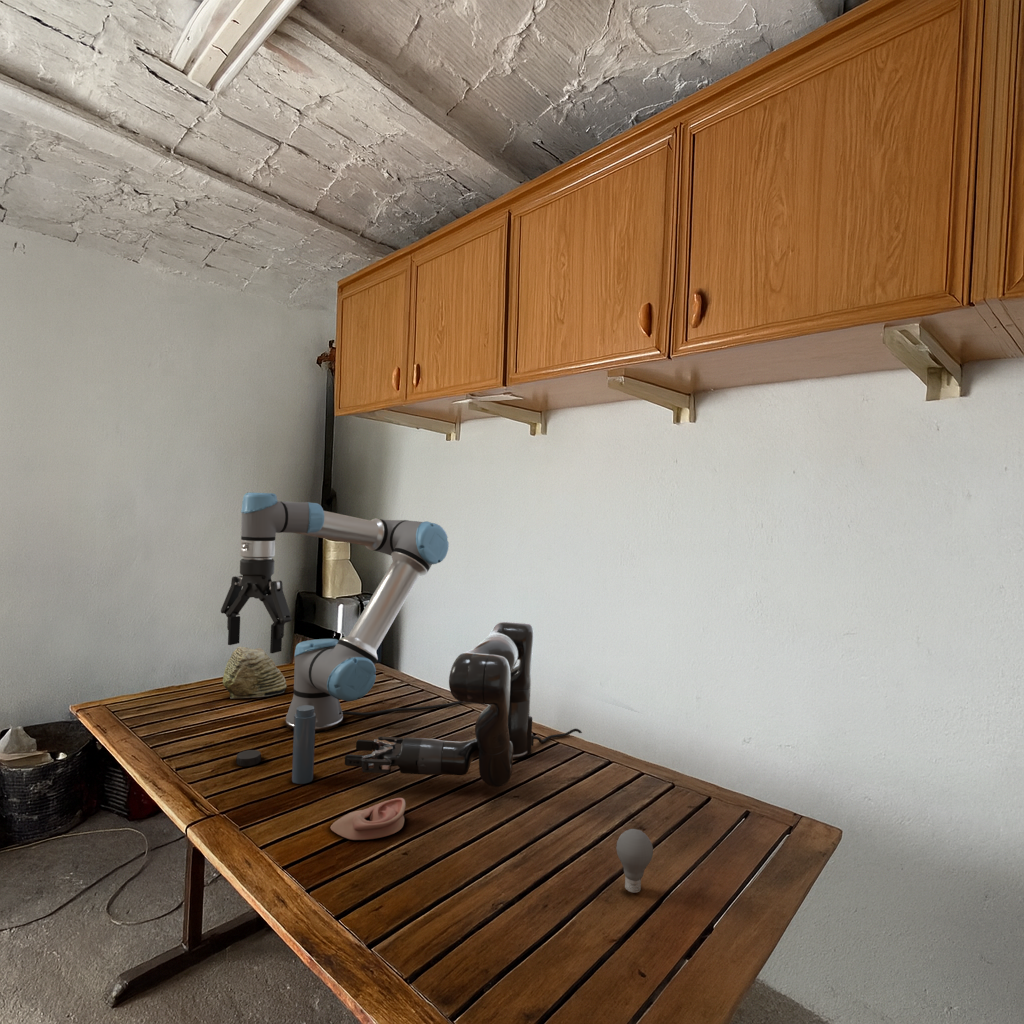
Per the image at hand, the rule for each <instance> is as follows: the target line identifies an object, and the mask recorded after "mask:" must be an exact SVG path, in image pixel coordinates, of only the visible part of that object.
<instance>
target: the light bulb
mask: <svg viewBox="0 0 1024 1024" xmlns="http://www.w3.org/2000/svg"><path fill="white" fill-rule="evenodd" d="M615 849H616V854H617V857H618V859H619V861H620V863H621V865H622V867H623V873H624V874H623V875H624V876H625V878H624V888H625V890H627V891H628V892H630V893H634V894H635V893H639V892H640V891H641V889H642V887H641V886H642V879H643V877H644V875H645V871H646V868H647V867H648V866H649V864H650V863H651V861H652V859H653V855H654V847H653V843H652V841H651V838H649V836H648V835H647V834H646V833H645V832H643V831H642V830H641V829H636V828H629V829H627V830H625V831H623V832H622V833H621V834H620V835H619V837H618V839H617V841H616V847H615Z"/></svg>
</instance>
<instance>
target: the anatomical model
mask: <svg viewBox="0 0 1024 1024" xmlns="http://www.w3.org/2000/svg"><path fill="white" fill-rule="evenodd" d="M406 807H407V804H406V799H405V798H403V797H396V798H391V799H388V800H385V801H382V802H378V803H376V804H374V805H372V806H370V807H367V808H364V809H360V810H355V811H351V812H348V813H347V814H344V815H343V816H341V817H340V818H338V819H336V820H335V821H334V822H333V823H332V824H331V825H330V830H331V832H333V833H335V834H337V835H338V836H339V837H342V838H344V839H346V840H351V841H365V840H374V839H380V838H384V837H388V836H391V835H394V834H395V833H397V832H399V831H400V830H402V829H403V828H404V825H405V816H404V814H405V812H406V811H405V810H406Z"/></svg>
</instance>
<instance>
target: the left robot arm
mask: <svg viewBox="0 0 1024 1024" xmlns="http://www.w3.org/2000/svg"><path fill="white" fill-rule="evenodd" d="M277 496H278V495H277V494H276V493H271V492H245V494H243V497H242V502H241V503H242V504H241V511H240V513H241V532H240V533H241V534H240V535H241V537H240V557H241V559H240V560H239V574H240V575H235V576H232V577H231V580H230V587H229V589H228V592H227V594H226V596H225V599H224V601H223V603H222V606H221V608H220V613H221V614H224V615H225V616H226V617H227V622H226V628H227V631H228V632H227V645H228V646H233V645H237V644H240V639H241V637H240V636H241V616H240V612H241V611H242V609H243V608H244V607H245V605H246V604H247V603H248V601H249V600H250V598H254V599H259V601H260V602H262V604H263V605H264V607H265V609H266V611H267V613H268V615H269V616H270V618H271V620H272V622H273V623H272V624H271V625H270V645H269V654H275V653H279V652H282V649H283V648H282V647H283V639H284V636H285V634H284V633H285V624H287V623H291V622H292V619H293V618H292V615H291V612H290V609H289V606H288V603H287V598H286V596H285V593H284V587H283V581H282V580H272V577H273V575H274V574H275V559H274V557H275V556H276V535H277V534H281V533H291V534H298V535H304V536H308V537H315V538H320V539H326V540H330V541H338V542H342V543H349V544H354V545H360V546H365V548H366V549H367V550H369V551H372V552H373V551H374V552H379V553H380V554H381V553H382V554H384V555H388V556H391V560H392V561H391V564H390V565H389V567H388V569H387V570H386V572H385V574H384V576H383V577H382V579H381V581H379V583H378V586H377V587H376V589H375V590H374V592H373V594H372V596H371V597H370V599H369V601H368V602H367V604H366V606H365V607H364V609H363V611H362V612H361V614H360V615H359V617H358V619H357V620H356V622H355V624H354V625H353V627H352V628H351V630H350V632H349V634H348V635H347V636H344V637H343V636H342V637H340V638H339V639H337V638H319V639H308V640H303V641H300V642H299V643H298V642H297V644H296V646H295V650H294V655H293V657H294V672H293V695H292V696H293V697H292V699H291V702H290V704H289V708H288V711H287V713H286V715H285V726H286V728H287V729H289V730H291V731H294V715H295V714H296V708H297V707H299V706H303V705H310V706H313V707H314V709H315V710H314V713H315V714H316V722H315V733H316V732H325V731H329V730H332V729H335V728H337V727H339V726H340V725H342V723H343V722H344V716H362V717H363V716H364V717H365V716H367V717H368V716H377V715H381V714H382V715H383V714H387V713H394V712H411V711H425V710H434V709H440V708H447V707H452V706H456V705H460V704H466V703H465V702H461V701H458V700H456V701H453V702H447V703H441V704H434V705H427V706H413V707H398V708H388V709H381V710H376V711H367V712H360V711H343V709H342V706H341V702H340V700H342V701H345V702H353V701H354V702H355V701H357V700H360V699H362V698H363V697H364V696H366V695H367V694H368V693H369V692H370V691H371V689H372V688H373V687H374V685H375V682H376V680H377V675H376V672H377V668H376V664H377V662H378V660H379V658H378V654H377V650H378V649H379V647H380V645H381V644H382V642H383V640H384V639H385V637H386V635H387V633H388V631H389V630H390V628H391V626H392V624H393V623H394V621H395V619H396V617H397V616H398V614H399V612H400V611H401V610H402V607H403V605H404V604H405V602H406V600H407V598H408V597H409V595H410V593H411V591H412V590H413V588H414V587H415V584H416V583H417V581H418V579H419V578H420V577H422V576H426V575H427V574H428V572H429V570H430V569H431V567H432V565H437V564H439V563H442V562H443V561H444V560H445V558H446V556H447V554H448V552H449V547H450V546H449V544H450V543H449V541H448V538H449V537H448V534H447V532H446V531H445V529H444V528H443V527H442V526H441V525H440V524H439V523H436V522H435V523H434V522H431V521H419V520H418V521H417V520H407V519H382V518H376V517H375V518H372V519H371V520H370V519H365V518H361V517H355V516H351V515H345V514H342V513H336V512H333V511H327V510H324V508H323V507H322V505H321V504H320V503H318V502H310V501H286V500H281V501H280V500H278V497H277Z"/></svg>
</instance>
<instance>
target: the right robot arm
mask: <svg viewBox="0 0 1024 1024" xmlns="http://www.w3.org/2000/svg"><path fill="white" fill-rule="evenodd" d="M534 643H535V631H534V627H533V625H532V624H530V623H526V622H515V621H499V622H497V623H495V625H494V626H493V627H492V629H491V631H490V633H489V634H488V635H487V636H486V637H485V638H483V640H481V641H480V642H479V643H478V645H475V647H473V648H472V649H470V650H467V651H463V652H462V653H460V654H459V655H458V656H457V657H456V658H455V660H453V661H454V662H453V663H452V666H451V668H450V671H449V676H448V686H449V691H450V694H451V695H452V697H453V698H454V700H456V701H461V702H465V703H464V704H475V705H476V704H477V705H487V706H486V707H485V708H484V709H483V710H482V711H481V712H480V714H479V715H478V717H477V719H476V721H475V725H474V736H475V739H469V740H464V741H456V740H453V741H452V740H441V739H436V738H425V737H423V738H422V737H407V736H406V737H404V738H403V737H395V736H394V737H393V736H381V735H380V736H377V738H374V739H373V740H370V739H357V740H356V742H355V750H356V751H364V752H371V753H370V754H364V755H363V754H346V755H345V757H344V766H346V767H359V768H360V767H361V769H362V773H365V774H366V773H370V774H372V773H373V774H390V773H392V772H391V771H392V767H398V770H399V772H400V773H401V774H403V775H404V774H406V775H422V776H423V775H424V776H438V775H443V776H465V775H467V774H468V772H469V770H470V767H471V764H472V762H473V761H474V760H475V759H477V758H478V773H479V776H480V779H481V780H482V781H483V783H484V784H486V785H487V786H489V787H493V788H501V787H503V786H505V785H506V784H508V783H509V781H510V780H511V778H512V775H513V760H518V759H522V758H525V757H527V756H528V755H531V754H532V747H534V744H535V743H534V741H535V740H536V741H538V742H539V743H540V744H543V743H546V742H547V741H549V740H550V739H554V738H555V739H557V738H563V737H566V736H569V735H570V734H573V733H575V732H577V733H579V734H582V733H583V732H582V730H581V729H579V728H573V729H570V730H569V731H566V732H565V733H559V734H551V735H548V736H545V738H543V739H542V738H541V737H540V736H536V735H534V734H533V716H531V714H530V710H531V688H532V665H533V664H532V663H533V654H534ZM518 661H519V662H518ZM517 663H518V664H517Z"/></svg>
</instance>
